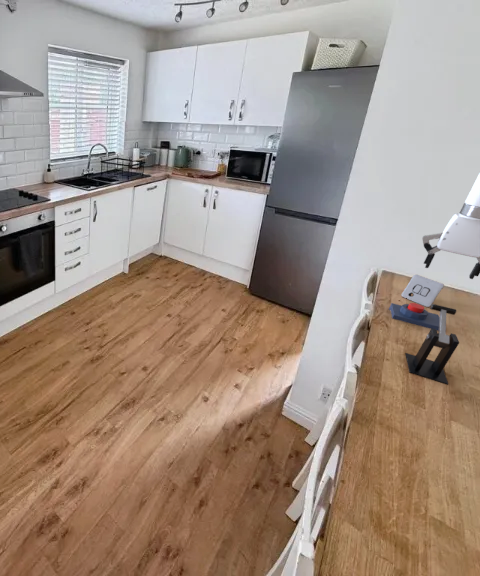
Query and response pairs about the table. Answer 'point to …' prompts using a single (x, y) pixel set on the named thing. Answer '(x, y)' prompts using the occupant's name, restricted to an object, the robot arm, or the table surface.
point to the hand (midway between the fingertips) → (448, 272)
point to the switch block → (414, 316)
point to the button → (415, 307)
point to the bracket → (427, 367)
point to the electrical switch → (422, 290)
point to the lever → (442, 325)
